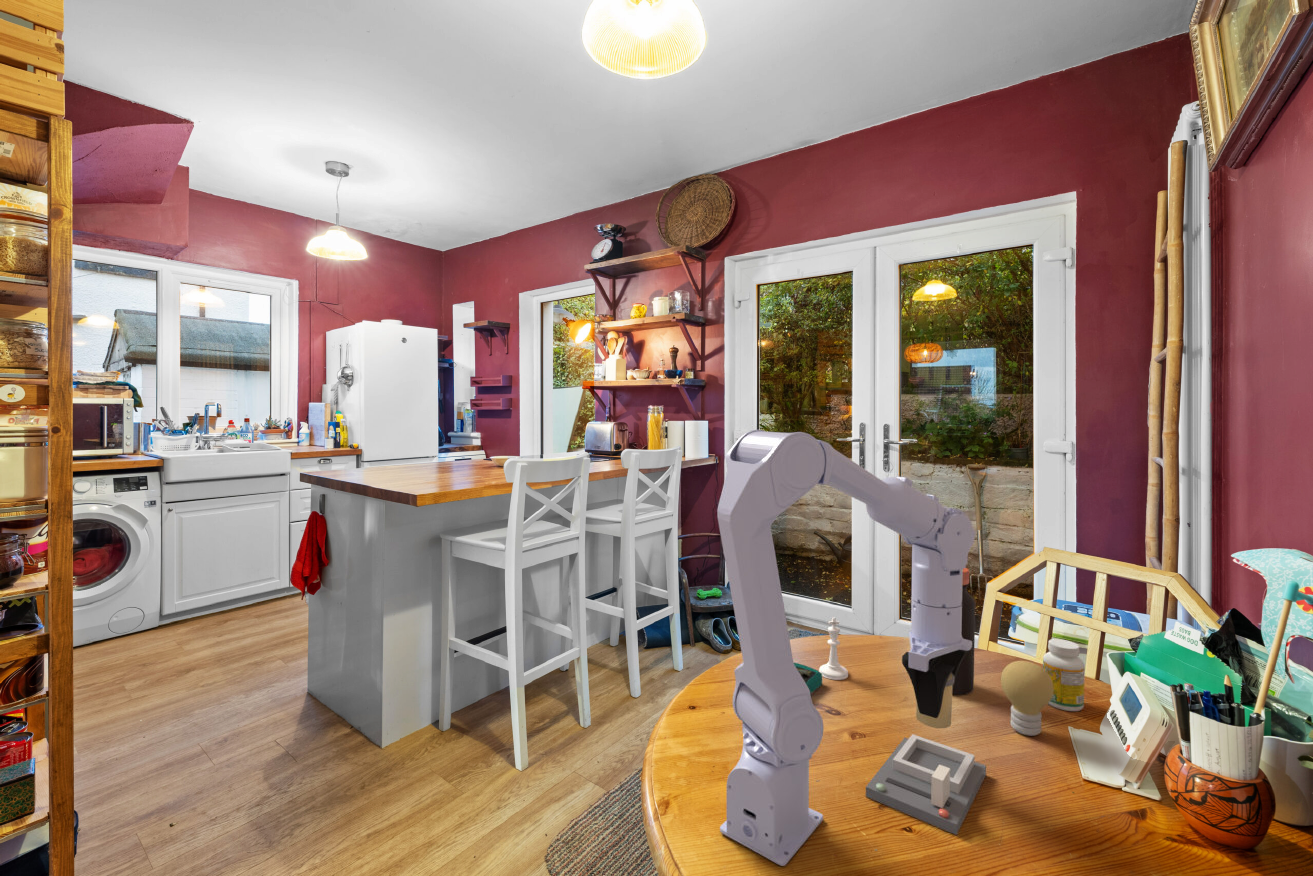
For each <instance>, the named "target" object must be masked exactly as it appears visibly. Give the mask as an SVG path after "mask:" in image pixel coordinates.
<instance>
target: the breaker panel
mask: <svg viewBox="0 0 1313 876" xmlns="http://www.w3.org/2000/svg"><path fill="white" fill-rule="evenodd" d="M939 765H942V766H945V767H948V768H950V796H949V797H948V799H947V801H946V803H945V805H944V806H943V808H940V807H938V806H935V805H933V804H931V783H932V775H933V774H934V772H935V770H936V769H937V767H938V766H939ZM986 776H987V765H986V764H983V763H980V762H977V761H975V754H972V753H971V752H966V751H963V750H960V749H958V748H955V747H952V746H949V745H946V744H943V743H939V742H937V741H934V740H931V739H927V738H925V737H921V736H919V735H916V734H913V733H912V734H911V735H910V737H909V738H907V737H904V738H903V739H902V740H901V741H900V743H899V744H898V745H897V746H896V748H895V749H894V750H893V752H892V753H891V754H890V755H889V757H888V758H887V759H886V760H885V762H884V763H883V765H881V767H880V768H879V769H878V771H877V772H876V773H875V775H874V776H873V777H872V778H871V779H870V781H869V782H868V783H867V785H866V786H865V797H866V798H869V799H871V800H873V801H876V802H878V803H880V804H883V805H885V806H886V807H888V808H892V809H894V810H896V811H899V812H901V813H904V814H906V815H907V816H911V817H912V818H915V819H918V820H920V821H922V822H925V823H927V824H929V825H932V826H934V827H936V828H938V829H941V830H943V831H945V832H947V833H951V834H952V835H955V836H957V835H958V833H959V830H960V829H961V827H962V825H963V823H964V820H965V819H966V816H967V814H968V812H969V811H970V809H971V806H972V805H973V802H974V800H975V798H976V796H977V794H978V792H979V790H980V788H981V786H982V784H983V782H984V780H985V778H986Z"/></svg>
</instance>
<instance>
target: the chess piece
mask: <svg viewBox="0 0 1313 876" xmlns="http://www.w3.org/2000/svg"><path fill="white" fill-rule="evenodd" d="M828 625H831V626H829V627H828V628H827V631H828V635H829V639H828V640H827V642H826V643H827V644H828V645H829V646H830V651H829V657H828V662H827V663H824V664H821V666H820V667H819V670H818V671H819V672H820V673H822V678H825V679H828V680H834V681H842V680H846V679H847V678H848V677H849V671H848V669H847V668H846V667H845V666H843V665H841V664H840V663H839V658H838V647H837V646H839V645H840V644H841V641H840V640H838V636H839V635H840V631H841V630H840V629H841V628H839V627H837V626H836V625H840V621H839V620H837V619H836V616H835V617H831V620H828Z"/></svg>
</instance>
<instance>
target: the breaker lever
mask: <svg viewBox="0 0 1313 876" xmlns="http://www.w3.org/2000/svg"><path fill="white" fill-rule="evenodd" d="M949 796H950V768H948V767H945V766H942V765H939V766H938V767H937V769H936V770H935V772H934V774H933V775H932V783H931V804H933V805H935V806H938V807H940V808H943V806H944V805H945V803H946V801H947V799H948V797H949Z"/></svg>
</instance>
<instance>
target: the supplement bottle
mask: <svg viewBox="0 0 1313 876" xmlns="http://www.w3.org/2000/svg"><path fill="white" fill-rule="evenodd" d="M1047 648H1048V652H1046V653H1045V654H1044V655H1043V657H1042V668H1043V669H1044V670H1045V671H1046V672H1047V673H1048V674H1049V676H1050V678H1051V680H1052V683H1053V696H1052V698H1051V700H1050V701H1049V703H1048V704H1047V705H1049V706H1051V707H1053V708H1055V709H1059V710H1062V711H1066V712H1067V711H1068V712H1079V711H1081V710H1082V709H1084V706H1085V670H1086V669H1085V668H1086V667H1085V663H1084V661H1083V660H1082V659H1081V658H1080V653H1081V652H1080V645H1079V644H1077V643H1075V642H1074V641H1070V640H1067V639H1066V640H1065V639H1063V638H1062V639H1060V638H1051V639H1049V640H1048V645H1047Z"/></svg>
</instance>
